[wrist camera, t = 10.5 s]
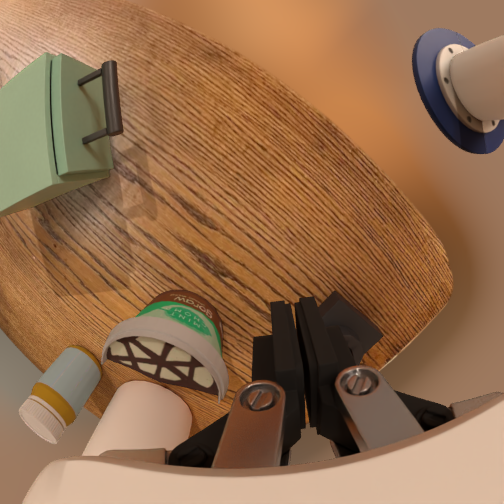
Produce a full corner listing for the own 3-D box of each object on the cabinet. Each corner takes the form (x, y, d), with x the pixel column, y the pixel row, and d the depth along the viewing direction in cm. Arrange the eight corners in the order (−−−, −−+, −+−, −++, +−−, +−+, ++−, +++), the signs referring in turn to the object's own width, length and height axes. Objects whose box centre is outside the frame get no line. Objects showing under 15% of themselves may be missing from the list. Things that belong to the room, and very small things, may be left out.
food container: (248, 297, 29) (243, 356, 19) (234, 342, 31) (225, 405, 21) (140, 265, 28) (93, 308, 19) (135, 311, 30) (96, 362, 20)
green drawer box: (98, 74, 22) (46, 51, 13) (110, 176, 25) (52, 185, 16) (23, 119, 23) (-28, 117, 14) (33, 207, 26) (-19, 223, 17)
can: (133, 364, 33) (72, 480, 14) (208, 408, 35) (186, 529, 16) (109, 400, 36) (62, 490, 17) (172, 437, 38) (146, 530, 19)
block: (334, 290, 28) (344, 307, 25) (377, 326, 30) (389, 344, 26) (273, 349, 31) (275, 371, 27) (319, 377, 32) (324, 399, 28)
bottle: (69, 367, 34) (24, 427, 20) (65, 336, 32) (9, 397, 18) (104, 384, 35) (64, 453, 20) (103, 354, 33) (52, 427, 18)
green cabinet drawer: (135, 58, 21) (99, 31, 13) (148, 157, 24) (108, 155, 17) (29, 116, 22) (-14, 112, 15) (38, 199, 25) (-6, 211, 18)
